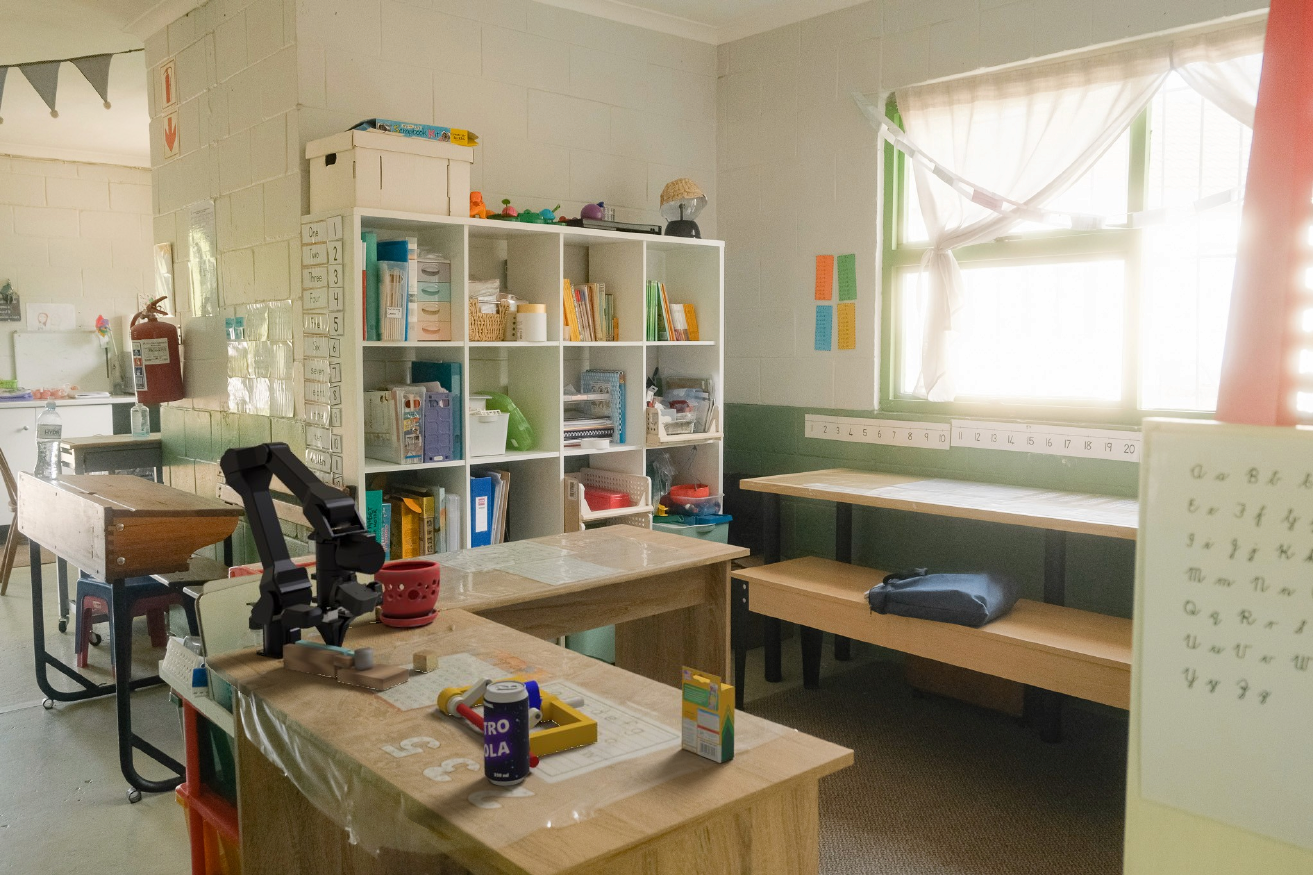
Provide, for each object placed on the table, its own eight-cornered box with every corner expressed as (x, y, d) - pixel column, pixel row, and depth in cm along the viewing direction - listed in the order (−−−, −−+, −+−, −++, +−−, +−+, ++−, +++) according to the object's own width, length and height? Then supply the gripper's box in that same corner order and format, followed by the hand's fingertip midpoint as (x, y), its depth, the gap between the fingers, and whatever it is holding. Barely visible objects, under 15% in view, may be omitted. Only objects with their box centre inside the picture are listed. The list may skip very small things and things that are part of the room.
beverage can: (485, 770, 127) (484, 680, 126) (529, 768, 128) (528, 678, 127) (483, 789, 121) (482, 694, 120) (529, 786, 122) (528, 692, 121)
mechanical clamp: (520, 732, 125) (433, 671, 150) (520, 779, 125) (434, 711, 150) (640, 704, 135) (540, 651, 160) (640, 748, 136) (541, 689, 160)
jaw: (365, 675, 166) (364, 652, 166) (358, 677, 165) (357, 654, 165) (303, 661, 174) (302, 639, 173) (296, 664, 172) (295, 641, 172)
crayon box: (735, 757, 131) (736, 672, 130) (720, 764, 129) (720, 677, 128) (695, 742, 136) (696, 661, 135) (680, 748, 134) (680, 665, 133)
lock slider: (438, 668, 170) (438, 651, 170) (426, 673, 167) (426, 656, 167) (425, 665, 171) (424, 649, 171) (413, 670, 169) (412, 653, 168)
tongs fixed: (408, 680, 163) (408, 651, 163) (383, 691, 158) (382, 660, 158) (304, 661, 174) (304, 633, 174) (277, 670, 169) (276, 641, 169)
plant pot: (452, 616, 205) (451, 560, 204) (419, 632, 193) (417, 572, 192) (397, 612, 209) (396, 556, 208) (361, 627, 197) (360, 568, 196)
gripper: (326, 583, 158) (328, 677, 160) (405, 561, 175) (407, 647, 176) (277, 576, 163) (280, 667, 165) (359, 555, 180) (360, 638, 181)
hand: (335, 654), depth 172 cm, fingers closed
